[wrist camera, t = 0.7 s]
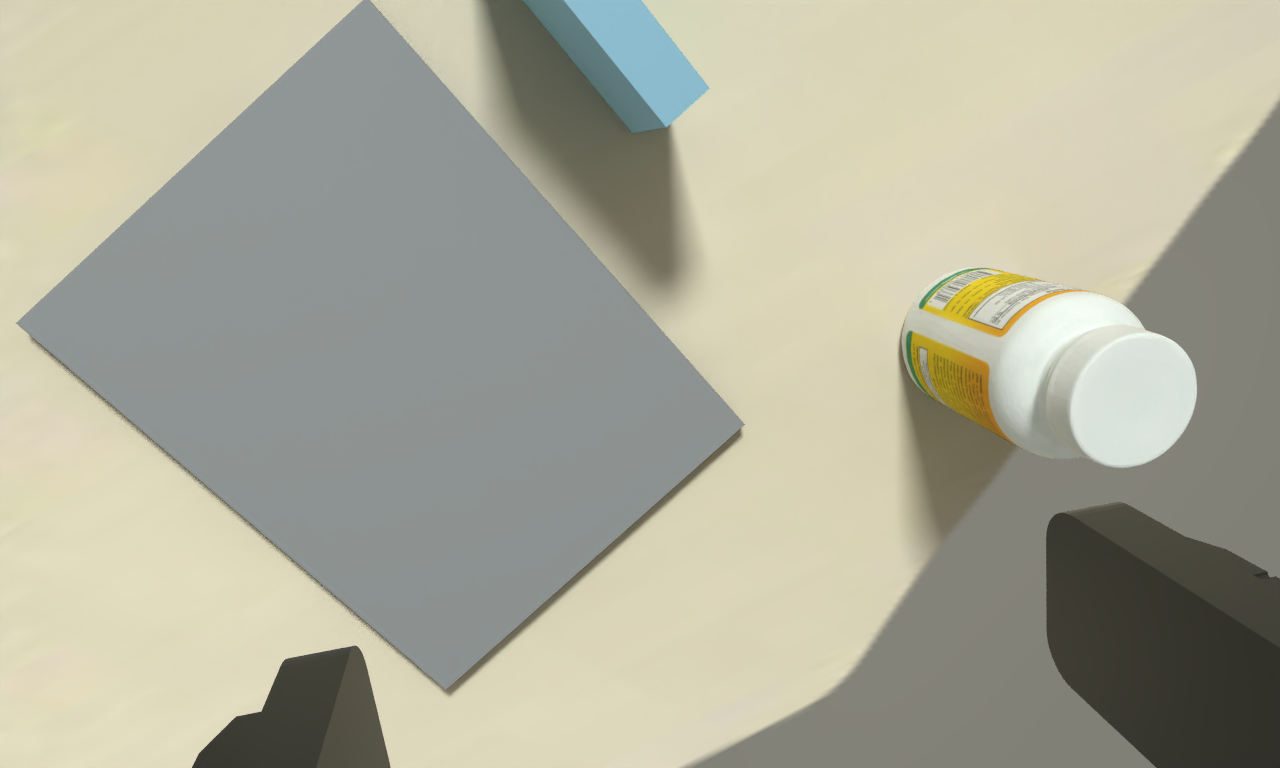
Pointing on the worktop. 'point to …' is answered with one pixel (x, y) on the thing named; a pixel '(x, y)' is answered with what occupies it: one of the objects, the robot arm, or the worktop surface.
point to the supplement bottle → (1049, 367)
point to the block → (624, 58)
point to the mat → (387, 352)
